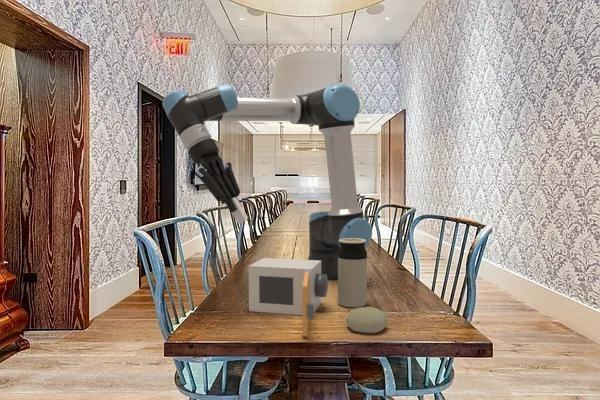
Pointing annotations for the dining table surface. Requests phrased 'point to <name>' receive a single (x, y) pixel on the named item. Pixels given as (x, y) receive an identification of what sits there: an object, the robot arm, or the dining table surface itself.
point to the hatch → (306, 304)
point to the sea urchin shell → (366, 320)
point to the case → (284, 285)
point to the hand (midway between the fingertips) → (243, 221)
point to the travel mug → (352, 273)
